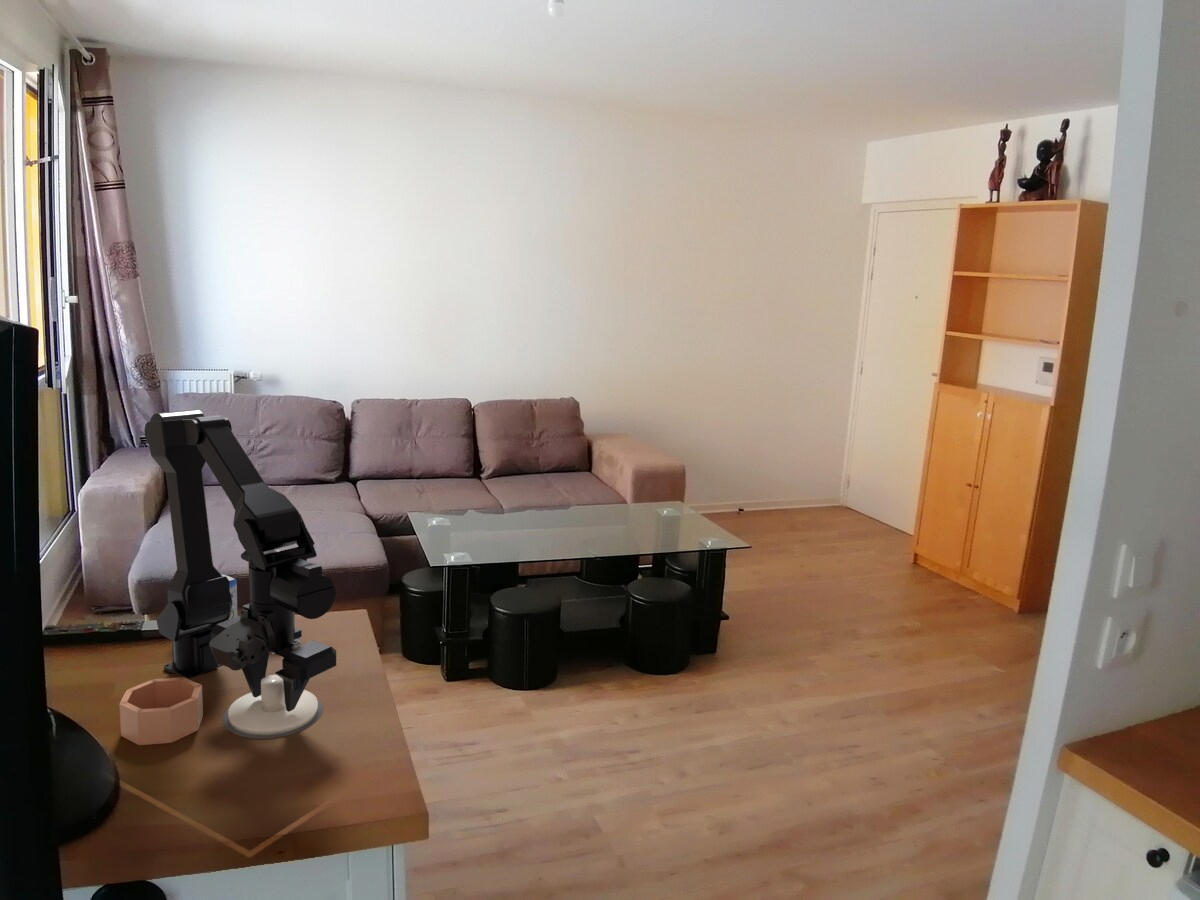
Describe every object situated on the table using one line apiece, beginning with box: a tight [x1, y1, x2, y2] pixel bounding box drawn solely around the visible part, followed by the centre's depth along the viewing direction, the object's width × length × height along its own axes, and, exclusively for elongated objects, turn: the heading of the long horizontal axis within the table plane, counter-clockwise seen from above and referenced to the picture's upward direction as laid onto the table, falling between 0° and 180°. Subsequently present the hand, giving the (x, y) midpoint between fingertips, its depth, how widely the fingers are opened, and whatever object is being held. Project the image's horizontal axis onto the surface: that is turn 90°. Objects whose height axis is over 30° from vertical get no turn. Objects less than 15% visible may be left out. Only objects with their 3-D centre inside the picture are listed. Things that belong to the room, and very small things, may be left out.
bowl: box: [118, 676, 204, 746], centre depth 116 cm, size 9×9×5 cm
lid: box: [228, 674, 318, 735], centre depth 121 cm, size 12×12×5 cm
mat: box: [222, 698, 324, 739], centre depth 121 cm, size 13×13×1 cm
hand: (273, 703), depth 121 cm, fingers open, 6 cm apart
